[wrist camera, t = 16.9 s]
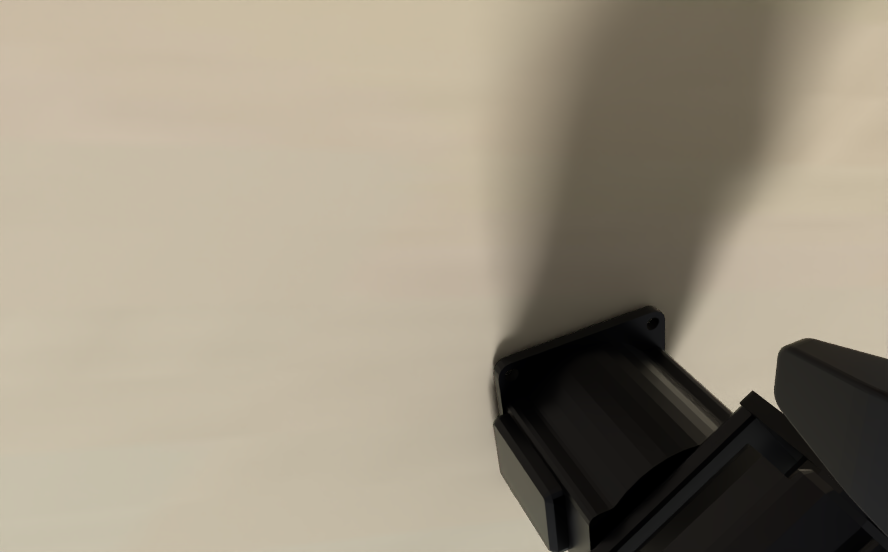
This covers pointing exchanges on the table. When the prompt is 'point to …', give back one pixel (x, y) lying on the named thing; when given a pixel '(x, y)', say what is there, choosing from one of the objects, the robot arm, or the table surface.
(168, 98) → the table surface
